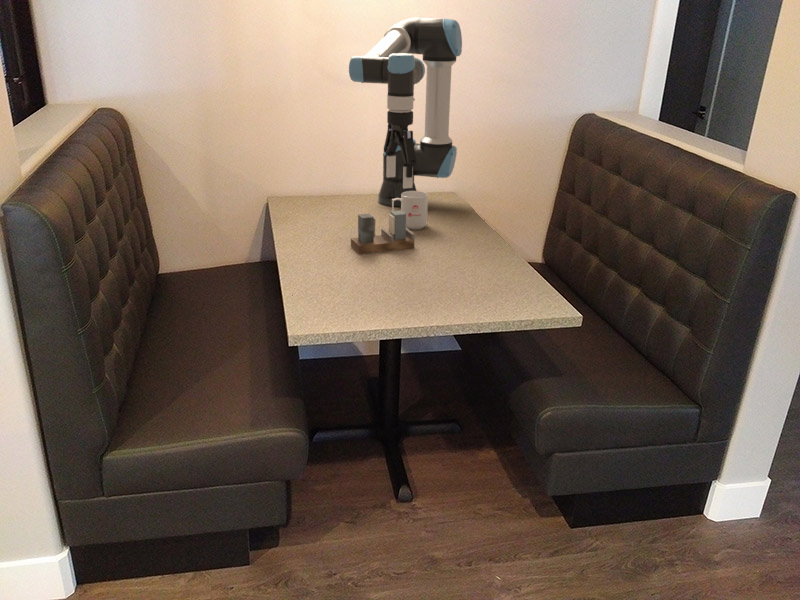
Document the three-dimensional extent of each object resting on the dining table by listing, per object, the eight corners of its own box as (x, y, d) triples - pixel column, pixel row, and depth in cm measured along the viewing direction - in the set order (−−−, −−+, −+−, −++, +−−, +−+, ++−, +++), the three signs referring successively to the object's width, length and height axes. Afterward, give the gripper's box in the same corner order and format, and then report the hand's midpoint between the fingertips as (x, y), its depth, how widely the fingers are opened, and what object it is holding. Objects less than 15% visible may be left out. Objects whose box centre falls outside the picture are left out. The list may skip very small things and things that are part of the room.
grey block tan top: (400, 235, 223) (401, 210, 219) (405, 238, 219) (406, 213, 216) (388, 236, 221) (388, 211, 218) (392, 240, 218) (393, 215, 215)
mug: (424, 222, 244) (425, 190, 240) (428, 230, 236) (429, 197, 232) (390, 222, 243) (390, 191, 238) (393, 230, 235) (393, 198, 230)
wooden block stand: (404, 240, 226) (405, 208, 222) (414, 247, 219) (415, 215, 215) (350, 245, 220) (350, 213, 216) (359, 254, 213) (359, 220, 209)
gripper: (429, 116, 196) (427, 191, 204) (396, 103, 217) (395, 171, 225) (404, 117, 193) (403, 193, 202) (373, 104, 214) (373, 173, 223)
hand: (399, 182), depth 213 cm, fingers open, 13 cm apart
